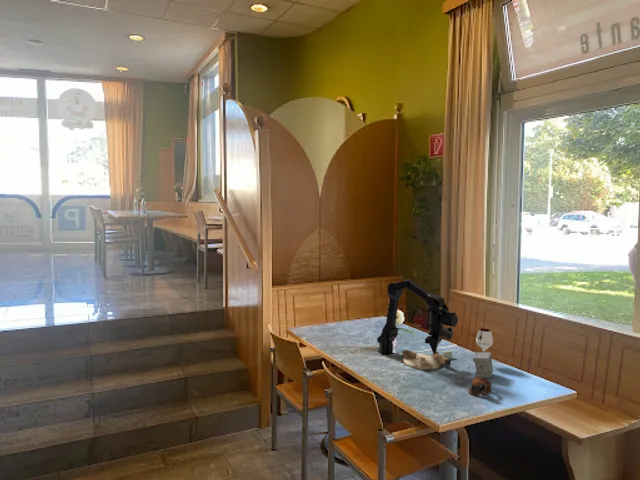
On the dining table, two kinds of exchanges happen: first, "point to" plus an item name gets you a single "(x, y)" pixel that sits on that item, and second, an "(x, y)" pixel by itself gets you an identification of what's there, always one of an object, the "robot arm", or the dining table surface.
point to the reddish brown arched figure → (476, 387)
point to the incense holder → (483, 364)
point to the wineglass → (484, 338)
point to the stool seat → (420, 360)
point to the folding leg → (442, 359)
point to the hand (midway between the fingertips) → (434, 353)
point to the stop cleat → (447, 354)
